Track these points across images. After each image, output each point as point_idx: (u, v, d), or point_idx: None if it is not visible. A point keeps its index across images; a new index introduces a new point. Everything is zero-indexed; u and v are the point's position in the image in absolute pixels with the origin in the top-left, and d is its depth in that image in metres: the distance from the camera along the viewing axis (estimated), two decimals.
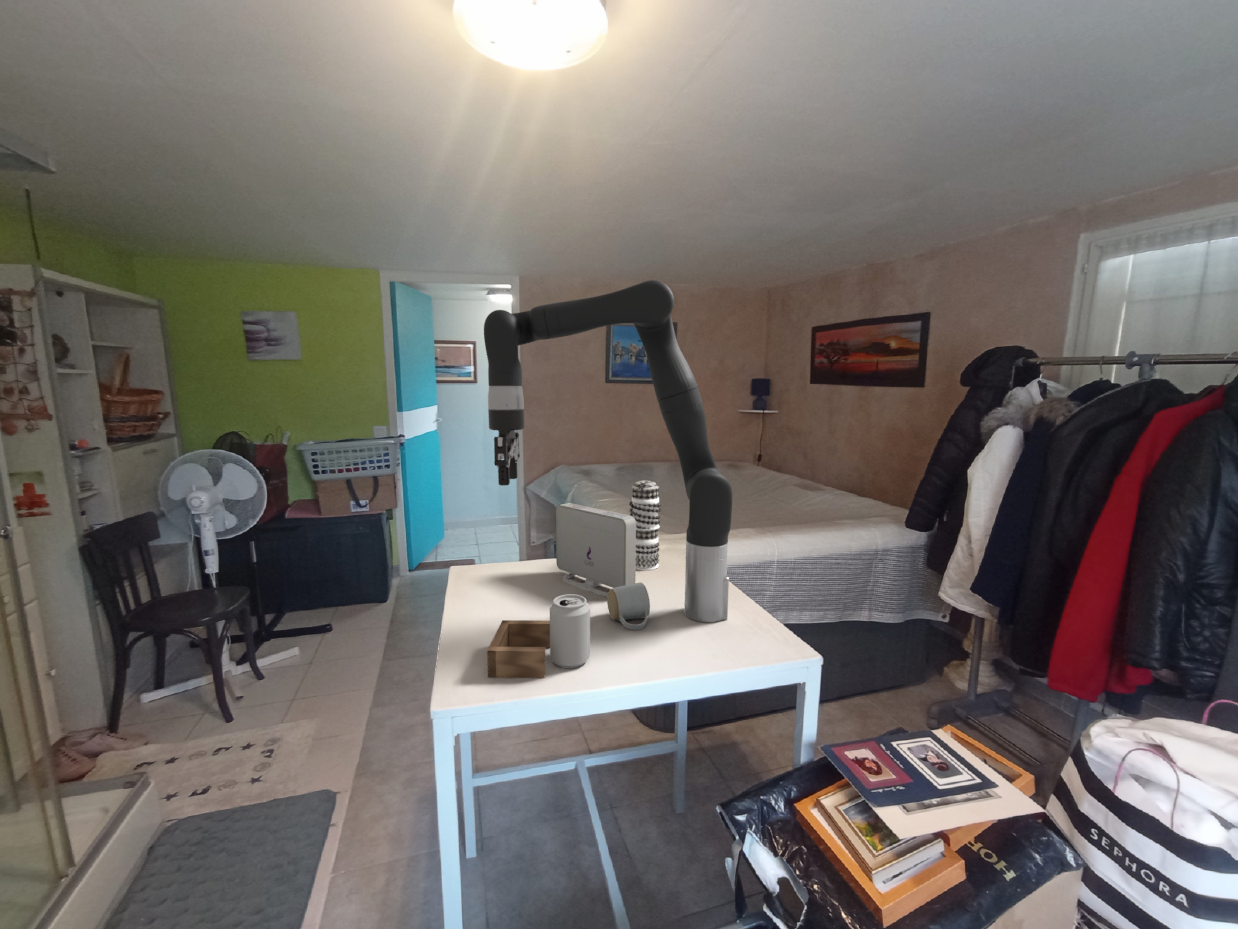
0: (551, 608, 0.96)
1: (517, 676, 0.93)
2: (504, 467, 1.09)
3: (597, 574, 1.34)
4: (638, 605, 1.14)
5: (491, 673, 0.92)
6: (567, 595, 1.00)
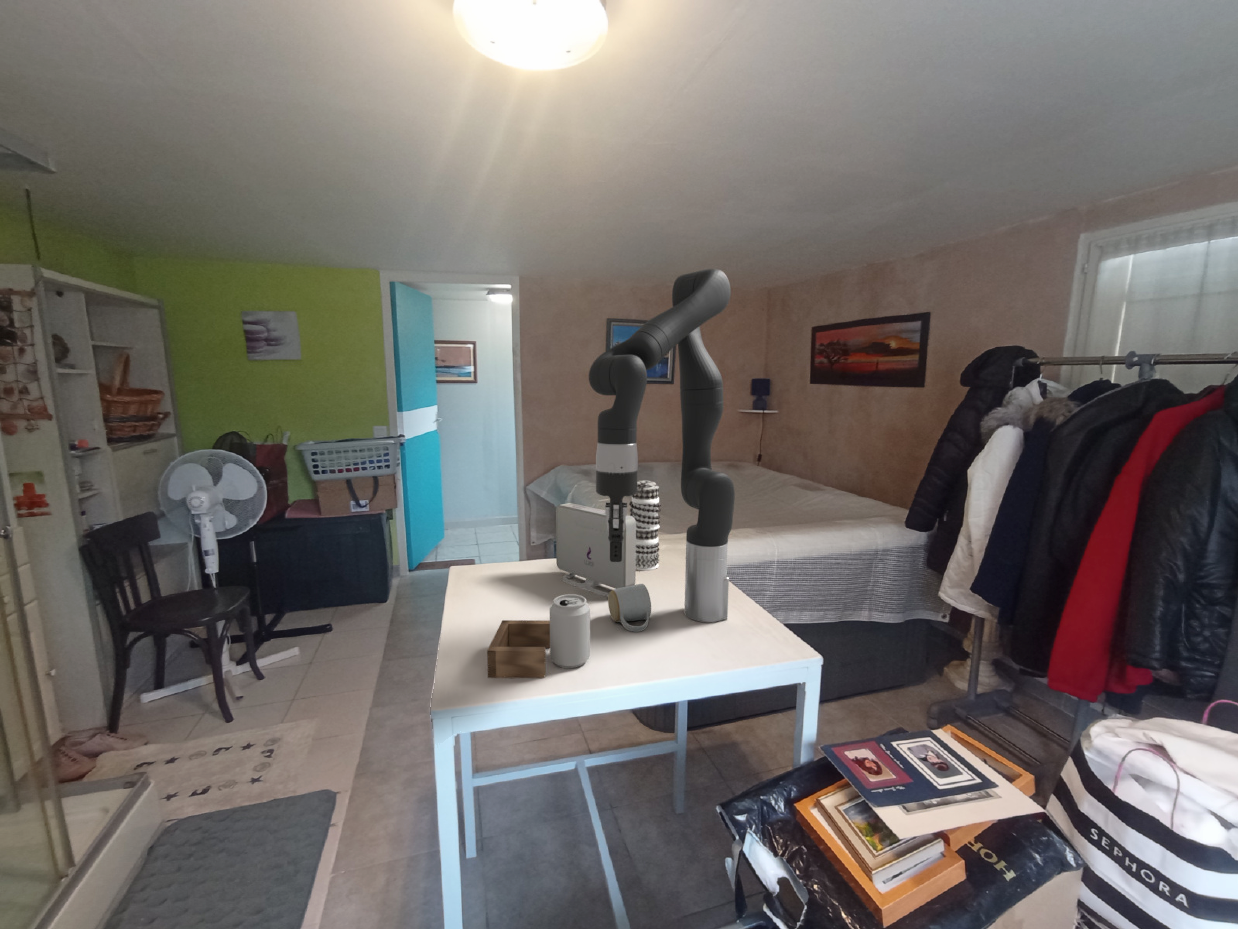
0: (551, 608, 0.96)
1: (517, 676, 0.93)
2: (618, 542, 0.94)
3: (597, 574, 1.34)
4: (639, 606, 1.13)
5: (491, 673, 0.92)
6: (567, 595, 1.00)
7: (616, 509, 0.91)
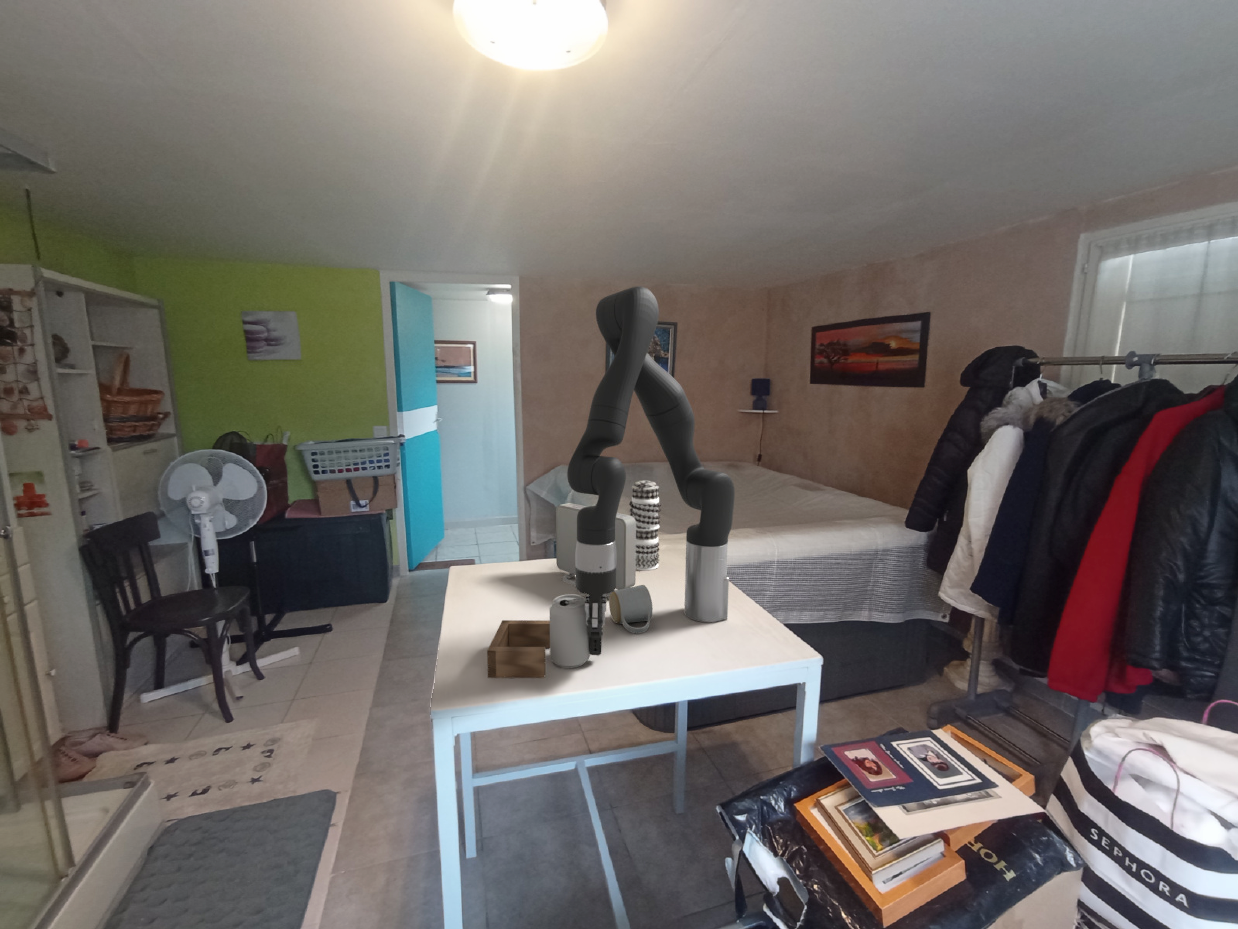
0: (551, 608, 0.96)
1: (517, 676, 0.93)
2: (597, 637, 0.96)
3: None
4: (640, 608, 1.13)
5: (491, 673, 0.92)
6: (567, 595, 1.00)
7: (595, 608, 0.93)
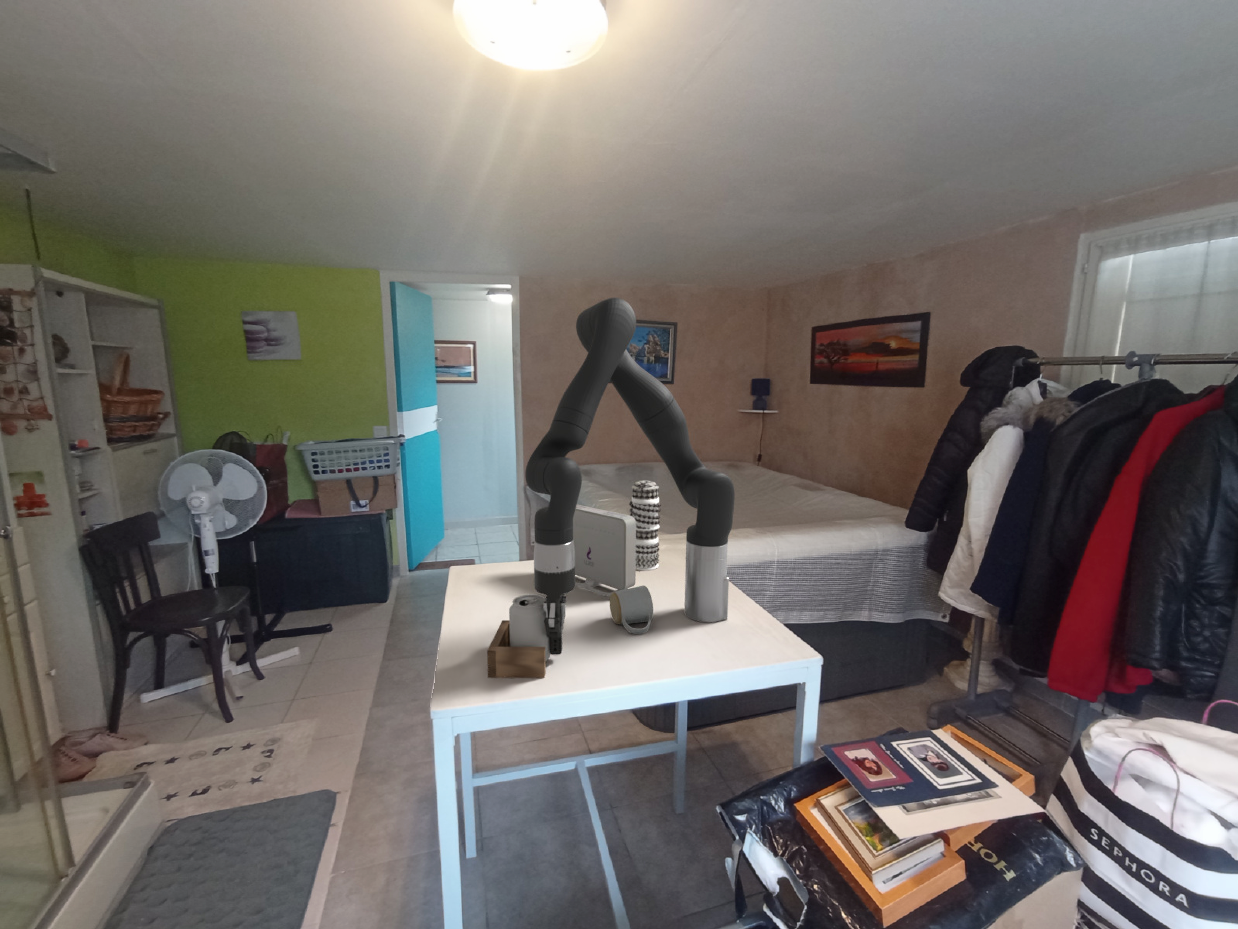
0: (511, 609, 0.96)
1: (517, 676, 0.93)
2: (557, 637, 0.96)
3: (597, 574, 1.34)
4: (641, 609, 1.12)
5: (491, 673, 0.92)
6: (526, 595, 1.00)
7: (553, 608, 0.93)
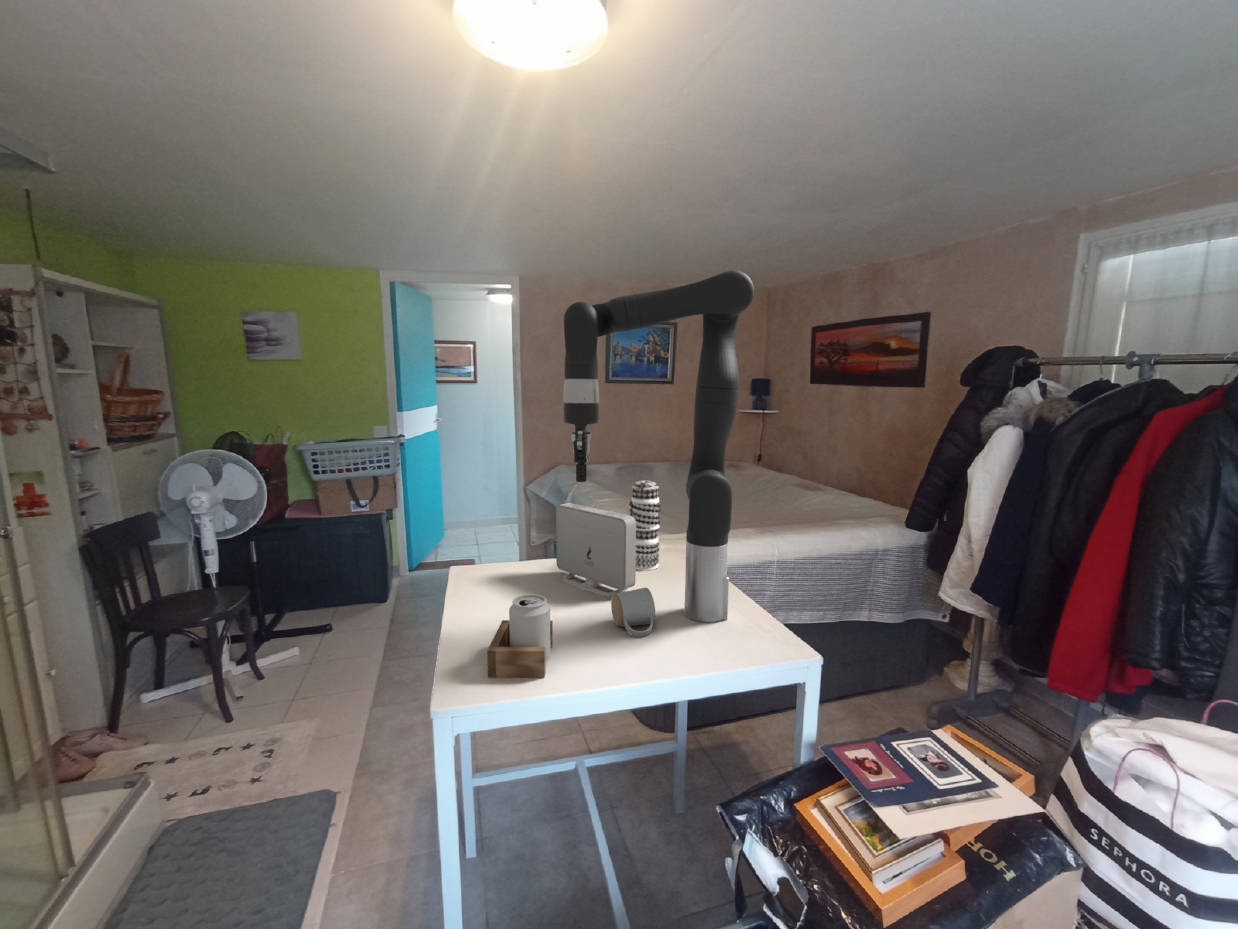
0: (511, 609, 0.96)
1: (517, 676, 0.93)
2: (583, 464, 1.11)
3: (597, 574, 1.34)
4: (643, 611, 1.11)
5: (491, 673, 0.92)
6: (526, 595, 1.00)
7: (580, 434, 1.08)
